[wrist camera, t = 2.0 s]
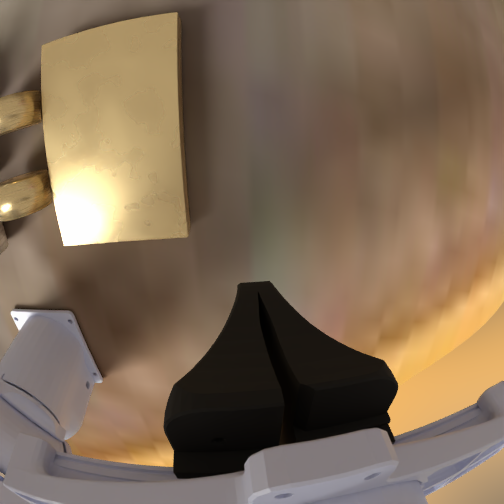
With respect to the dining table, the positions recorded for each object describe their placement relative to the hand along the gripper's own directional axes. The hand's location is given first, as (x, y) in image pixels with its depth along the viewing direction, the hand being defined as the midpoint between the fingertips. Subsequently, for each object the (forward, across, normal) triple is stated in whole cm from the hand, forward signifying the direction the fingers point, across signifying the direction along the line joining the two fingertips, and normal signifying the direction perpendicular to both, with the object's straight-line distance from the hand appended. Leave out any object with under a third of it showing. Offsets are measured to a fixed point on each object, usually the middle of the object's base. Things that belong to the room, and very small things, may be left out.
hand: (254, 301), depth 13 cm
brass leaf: (+9, +10, -7) cm, 15 cm away
